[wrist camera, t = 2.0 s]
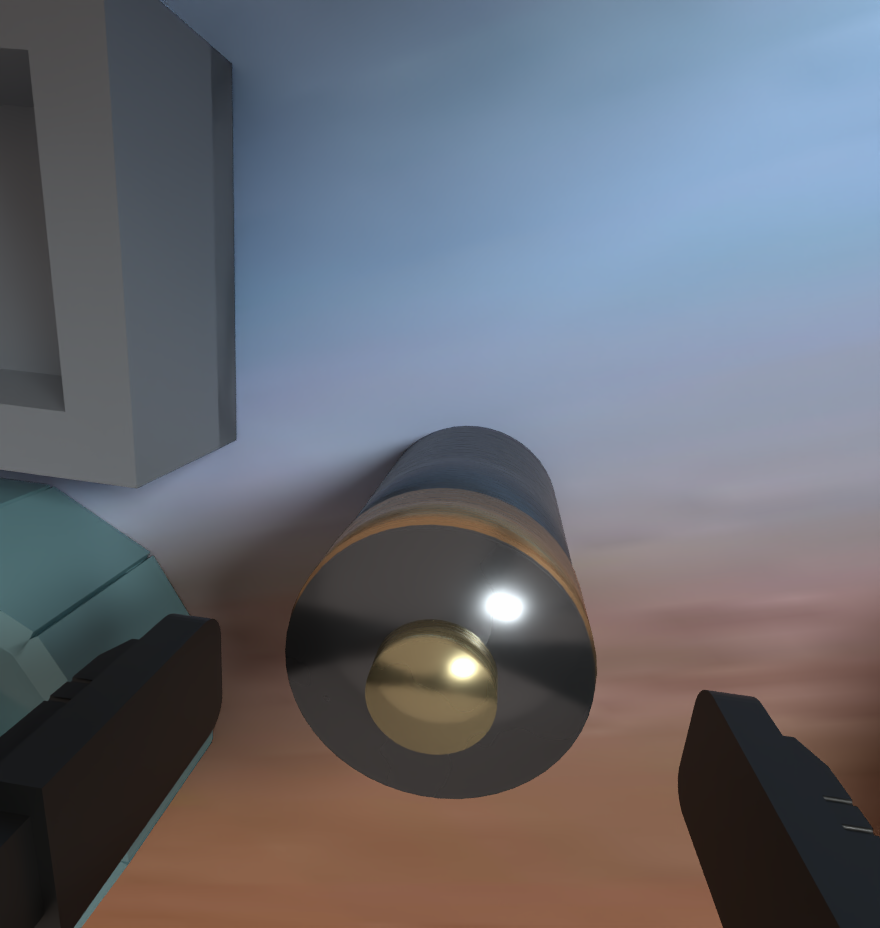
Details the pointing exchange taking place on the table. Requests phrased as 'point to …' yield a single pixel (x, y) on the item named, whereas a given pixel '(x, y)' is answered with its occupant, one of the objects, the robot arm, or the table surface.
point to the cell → (448, 625)
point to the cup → (70, 606)
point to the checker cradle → (114, 242)
